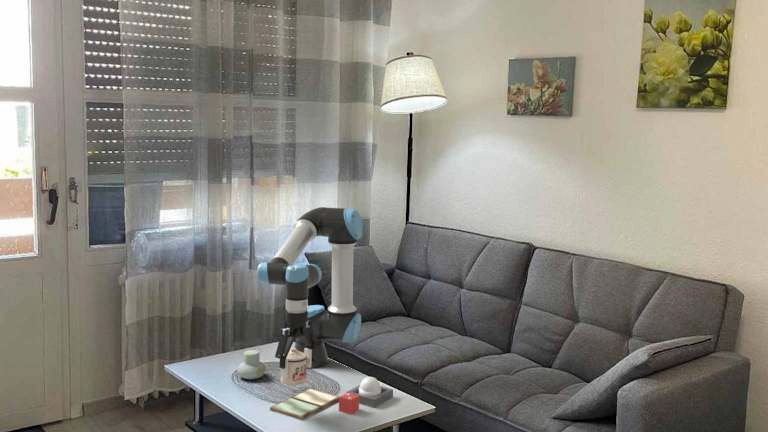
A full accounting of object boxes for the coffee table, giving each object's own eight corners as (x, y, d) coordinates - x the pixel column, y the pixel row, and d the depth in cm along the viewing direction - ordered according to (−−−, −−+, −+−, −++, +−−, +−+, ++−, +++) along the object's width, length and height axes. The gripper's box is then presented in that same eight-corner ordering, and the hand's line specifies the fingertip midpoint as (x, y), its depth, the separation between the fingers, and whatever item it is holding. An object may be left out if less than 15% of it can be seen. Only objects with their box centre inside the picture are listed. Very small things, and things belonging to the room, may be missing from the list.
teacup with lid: (294, 388, 247) (295, 354, 245) (274, 382, 252) (274, 349, 250) (317, 377, 257) (317, 345, 255) (297, 372, 262) (297, 340, 260)
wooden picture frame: (309, 390, 274) (309, 388, 273) (340, 399, 266) (340, 396, 266) (269, 410, 255) (269, 406, 255) (301, 419, 248) (301, 416, 248)
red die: (347, 406, 260) (347, 392, 259) (358, 409, 258) (359, 395, 257) (338, 410, 256) (339, 396, 255) (350, 414, 253) (350, 399, 253)
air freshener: (253, 383, 280) (253, 357, 278) (234, 380, 283) (234, 355, 281) (268, 374, 290) (268, 349, 289) (249, 371, 293) (249, 346, 291)
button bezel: (365, 389, 276) (365, 382, 276) (392, 397, 269) (393, 389, 269) (346, 400, 266) (346, 392, 265) (374, 408, 259) (374, 399, 259)
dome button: (366, 390, 273) (367, 372, 272) (385, 395, 269) (385, 376, 268) (354, 397, 266) (354, 378, 265) (372, 402, 262) (373, 383, 261)
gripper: (281, 320, 239) (281, 384, 242) (327, 305, 259) (326, 364, 262) (264, 316, 243) (264, 379, 246) (310, 301, 263) (309, 360, 266)
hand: (296, 371), depth 254 cm, fingers closed on teacup with lid, 12 cm apart
